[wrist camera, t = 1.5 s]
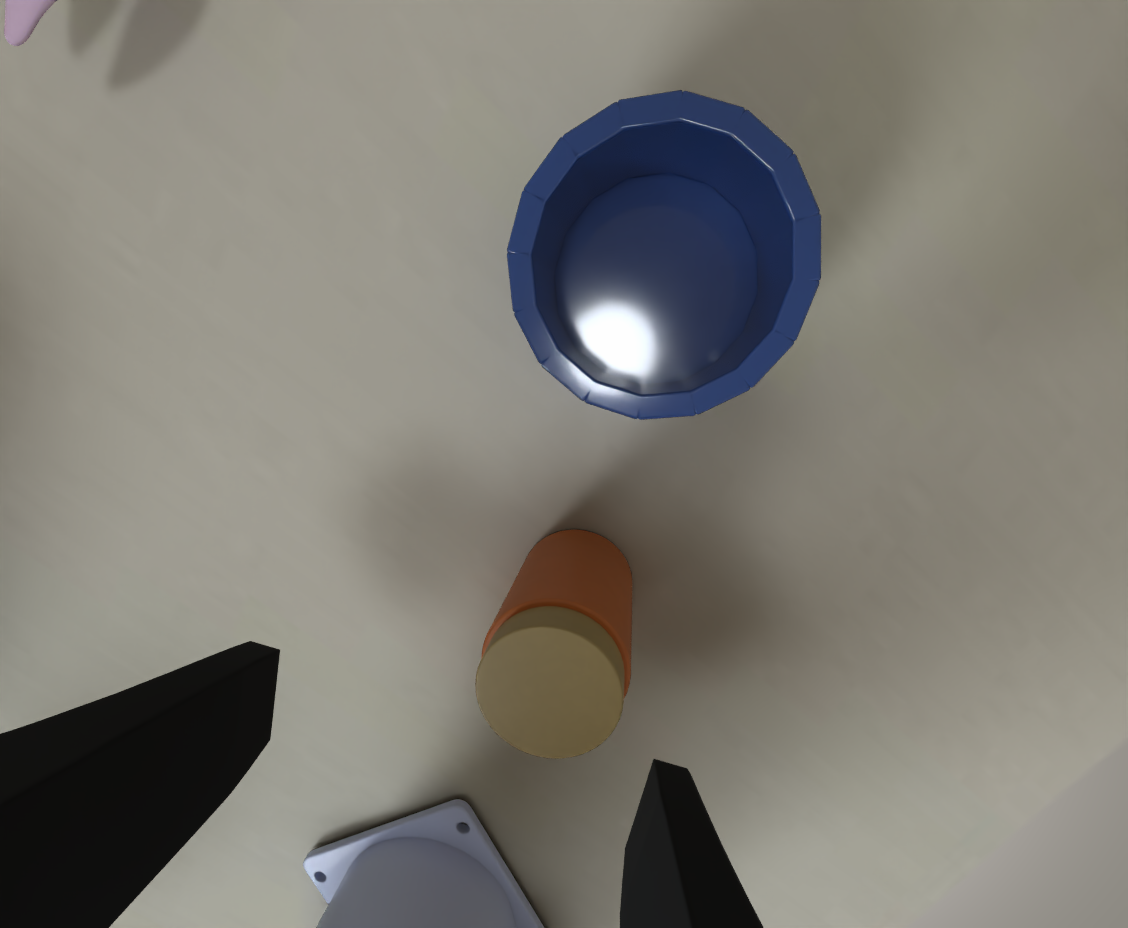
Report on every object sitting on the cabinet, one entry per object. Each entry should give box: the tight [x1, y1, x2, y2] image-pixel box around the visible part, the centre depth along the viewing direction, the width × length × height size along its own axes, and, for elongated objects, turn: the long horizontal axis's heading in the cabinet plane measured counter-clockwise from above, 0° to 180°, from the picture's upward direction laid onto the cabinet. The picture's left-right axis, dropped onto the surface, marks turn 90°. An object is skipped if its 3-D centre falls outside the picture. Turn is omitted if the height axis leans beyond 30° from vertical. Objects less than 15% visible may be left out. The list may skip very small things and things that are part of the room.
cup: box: [507, 90, 821, 420], centre depth 14 cm, size 7×7×4 cm
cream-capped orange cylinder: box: [475, 530, 632, 759], centre depth 16 cm, size 4×4×6 cm
